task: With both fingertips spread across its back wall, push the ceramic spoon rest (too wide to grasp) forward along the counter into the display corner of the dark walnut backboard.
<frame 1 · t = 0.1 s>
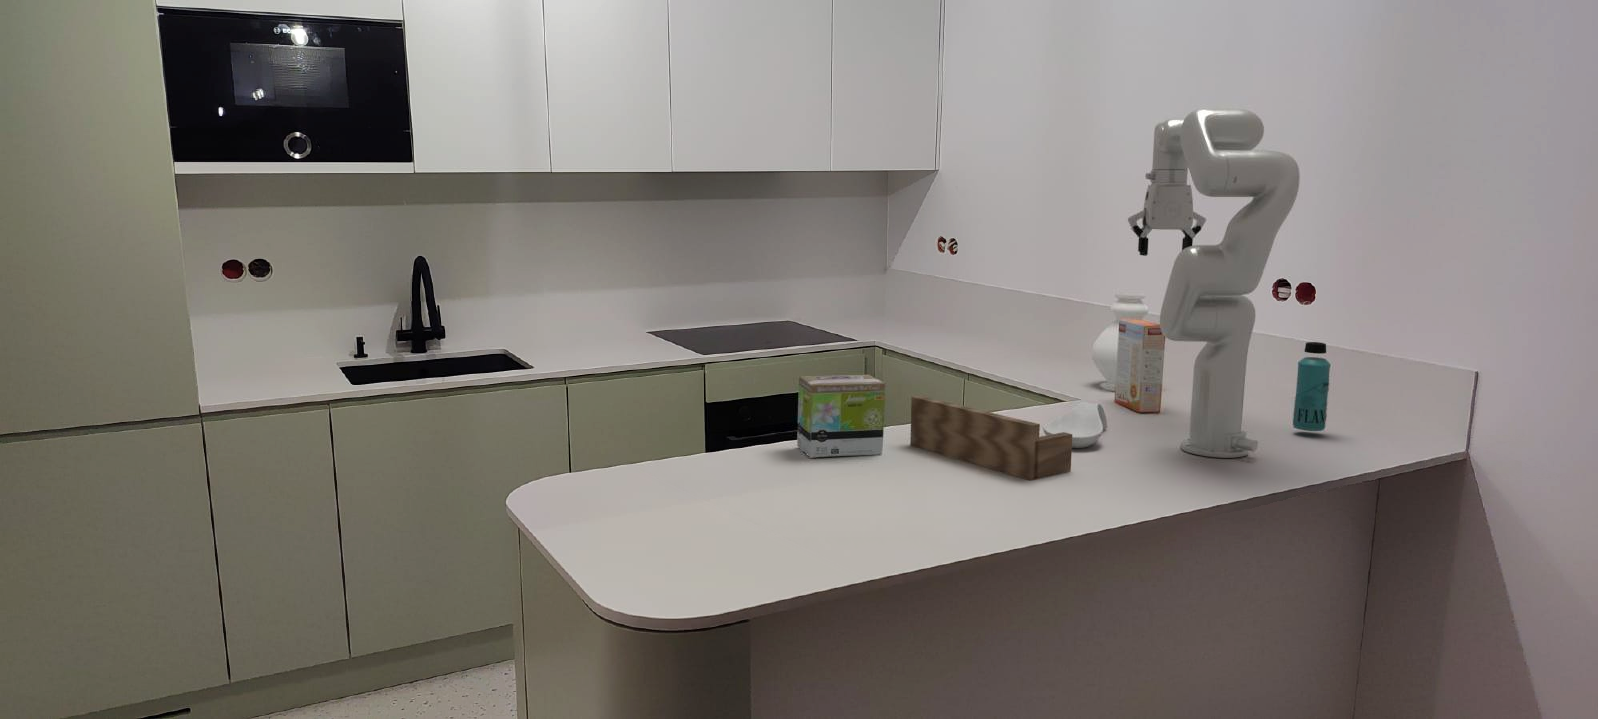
hand: (1164, 255, 233), 37 cm above the table, tool pointing down, fingers open, 9 cm apart
spoon rest: (1079, 441, 216), on the table
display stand: (969, 460, 198), on the table
tea box: (839, 452, 205), on the table
beverage bottle: (1308, 435, 221), on the table
decorative vase: (1124, 388, 275), on the table
cracker box: (1137, 408, 249), on the table
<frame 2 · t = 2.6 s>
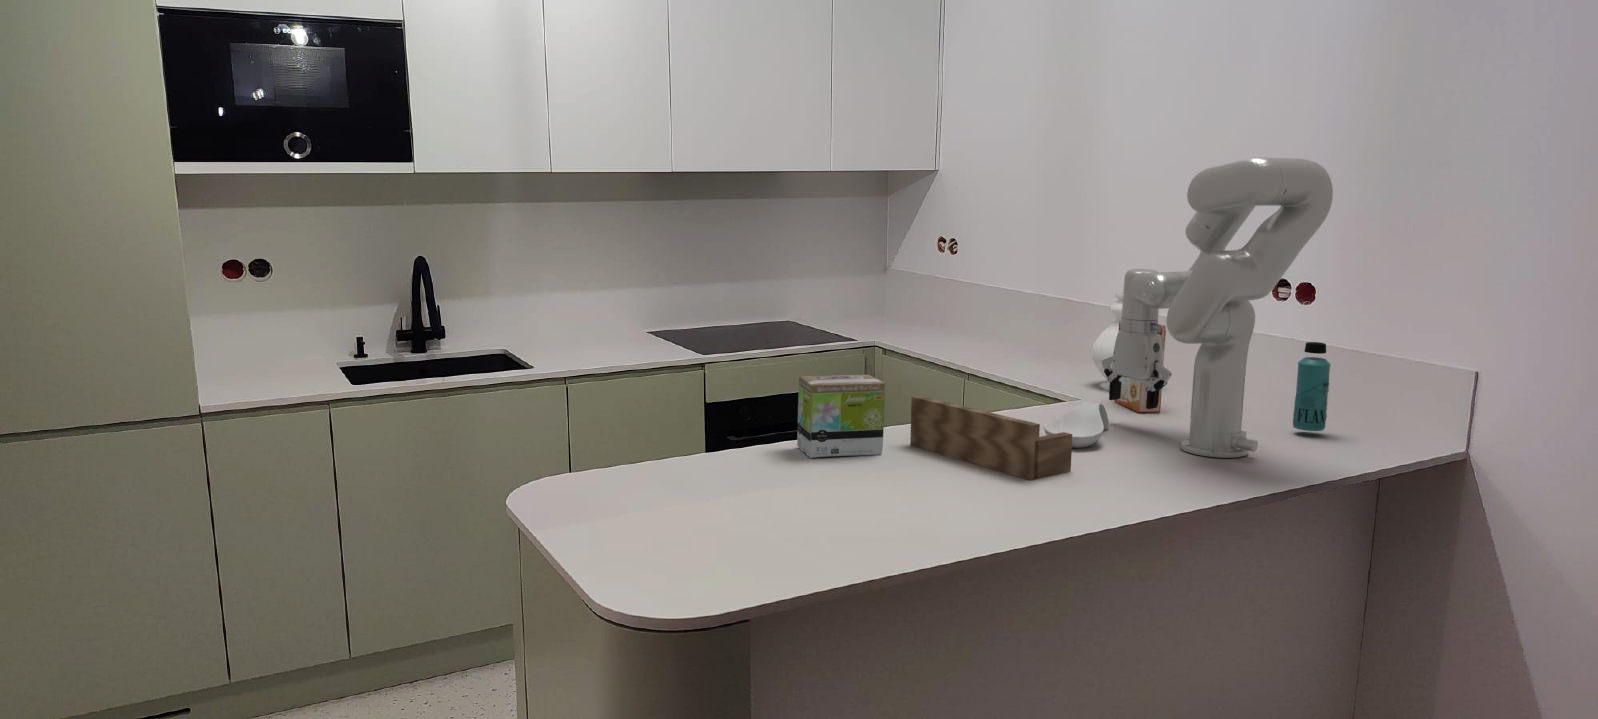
hand: (1132, 403, 226), 5 cm above the table, tool pointing down, fingers open, 9 cm apart
nothing on the table moved.
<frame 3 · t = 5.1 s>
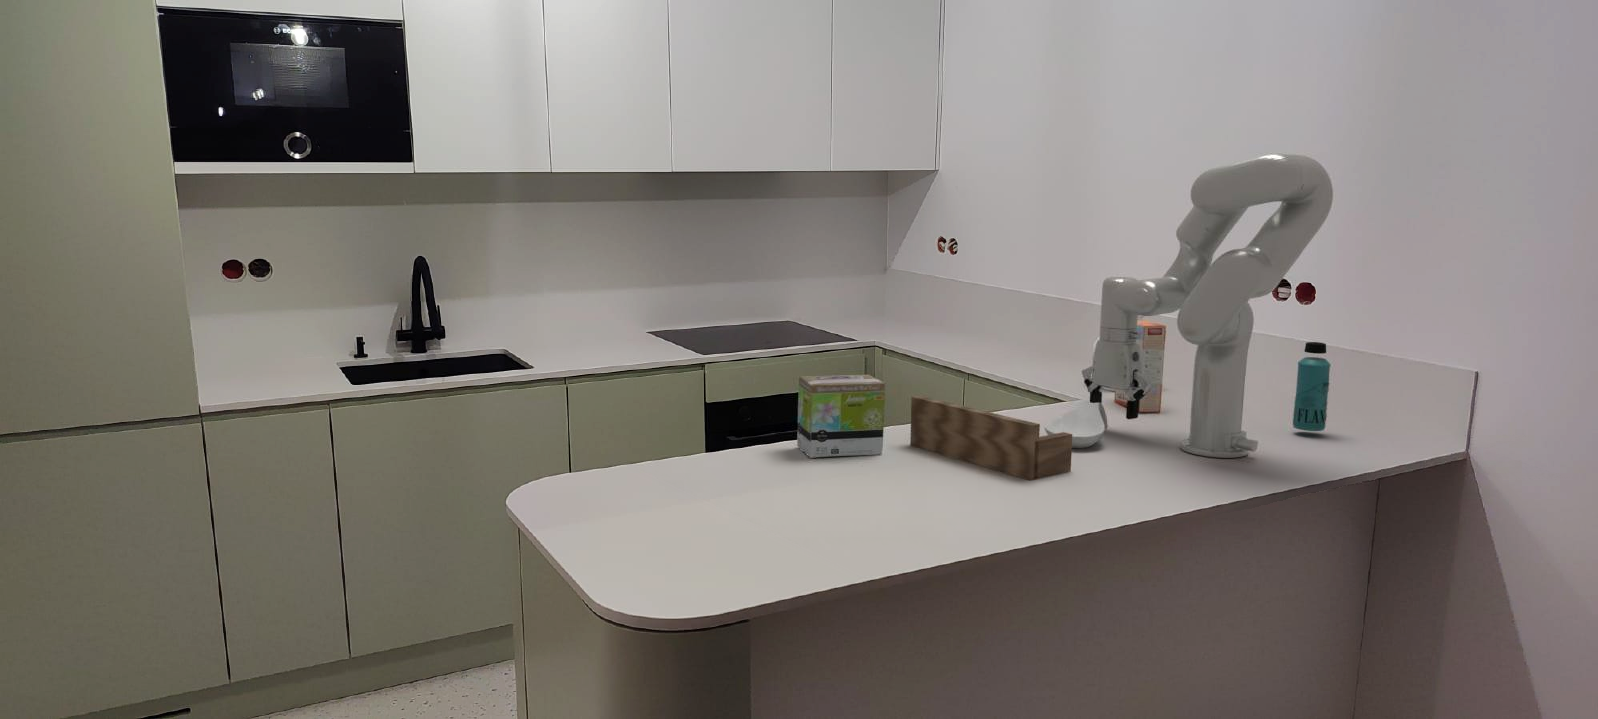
hand: (1113, 414, 222), 4 cm above the table, tool pointing down, fingers open, 9 cm apart
spoon rest: (1081, 440, 216), on the table, touching gripper
everything else where it was.
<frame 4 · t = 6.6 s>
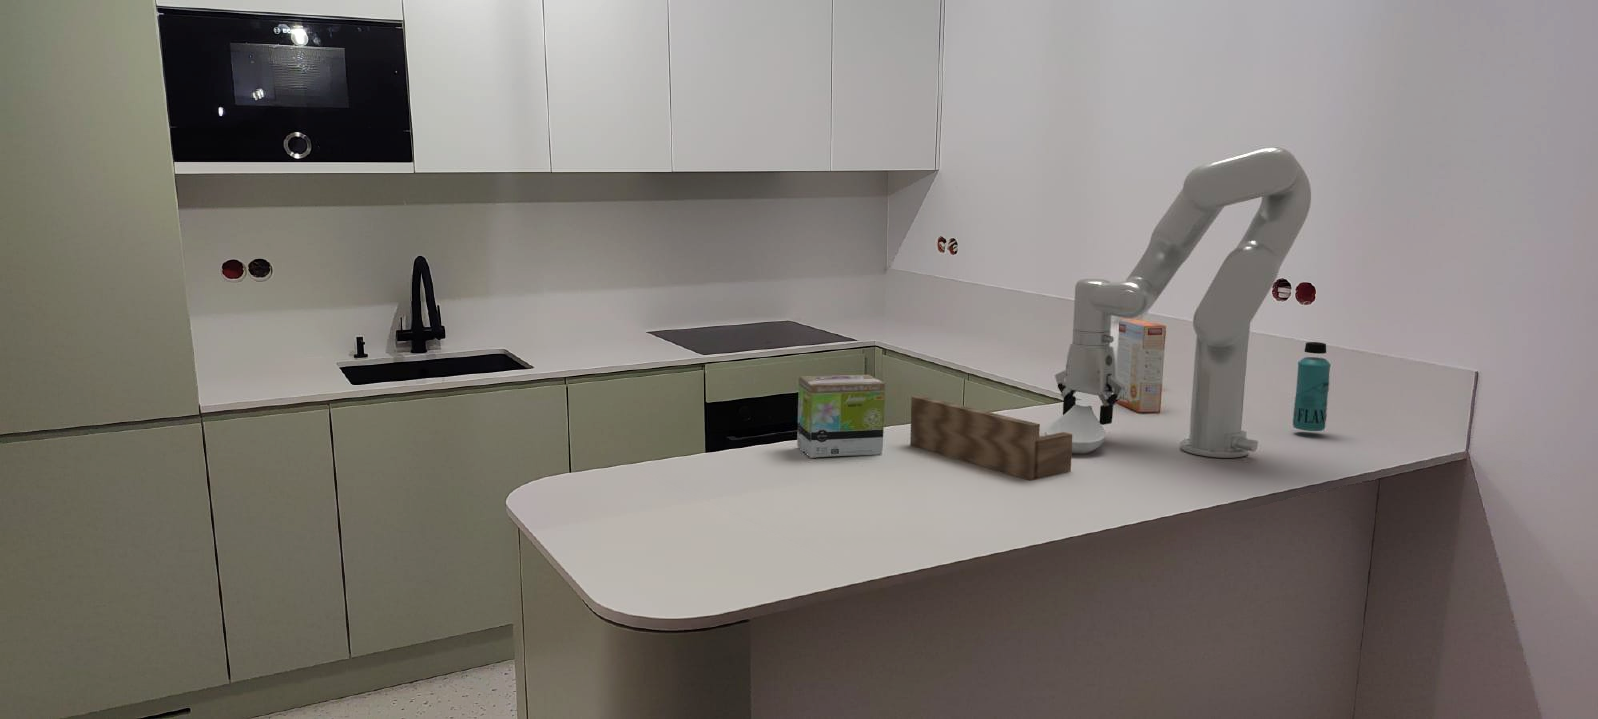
hand: (1086, 419, 217), 4 cm above the table, tool pointing down, fingers open, 9 cm apart
spoon rest: (1077, 445, 212), on the table, touching gripper
everything else where it was.
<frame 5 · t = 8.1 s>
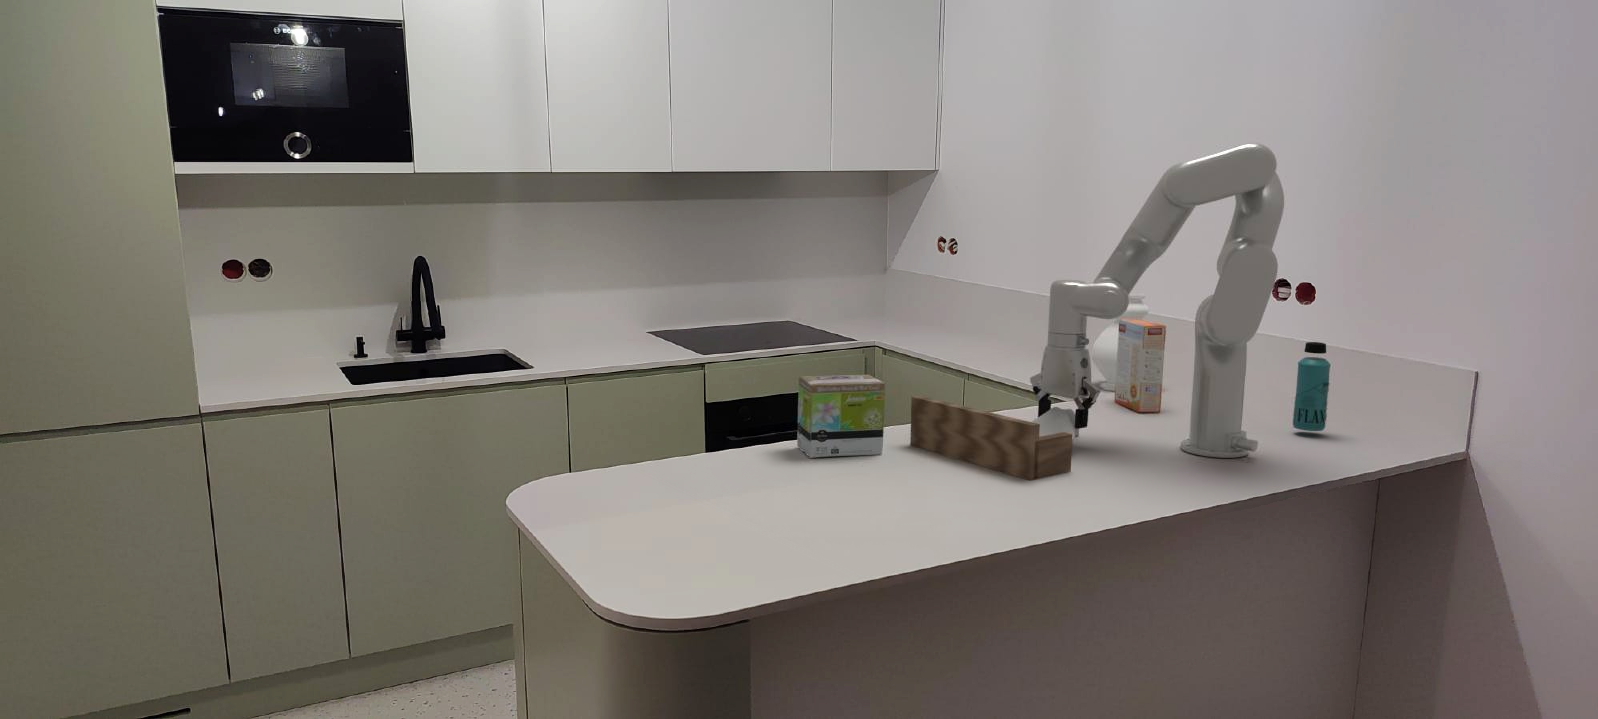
hand: (1062, 423, 213), 4 cm above the table, tool pointing down, fingers open, 9 cm apart
spoon rest: (1051, 448, 211), on the table, touching gripper
everything else where it was.
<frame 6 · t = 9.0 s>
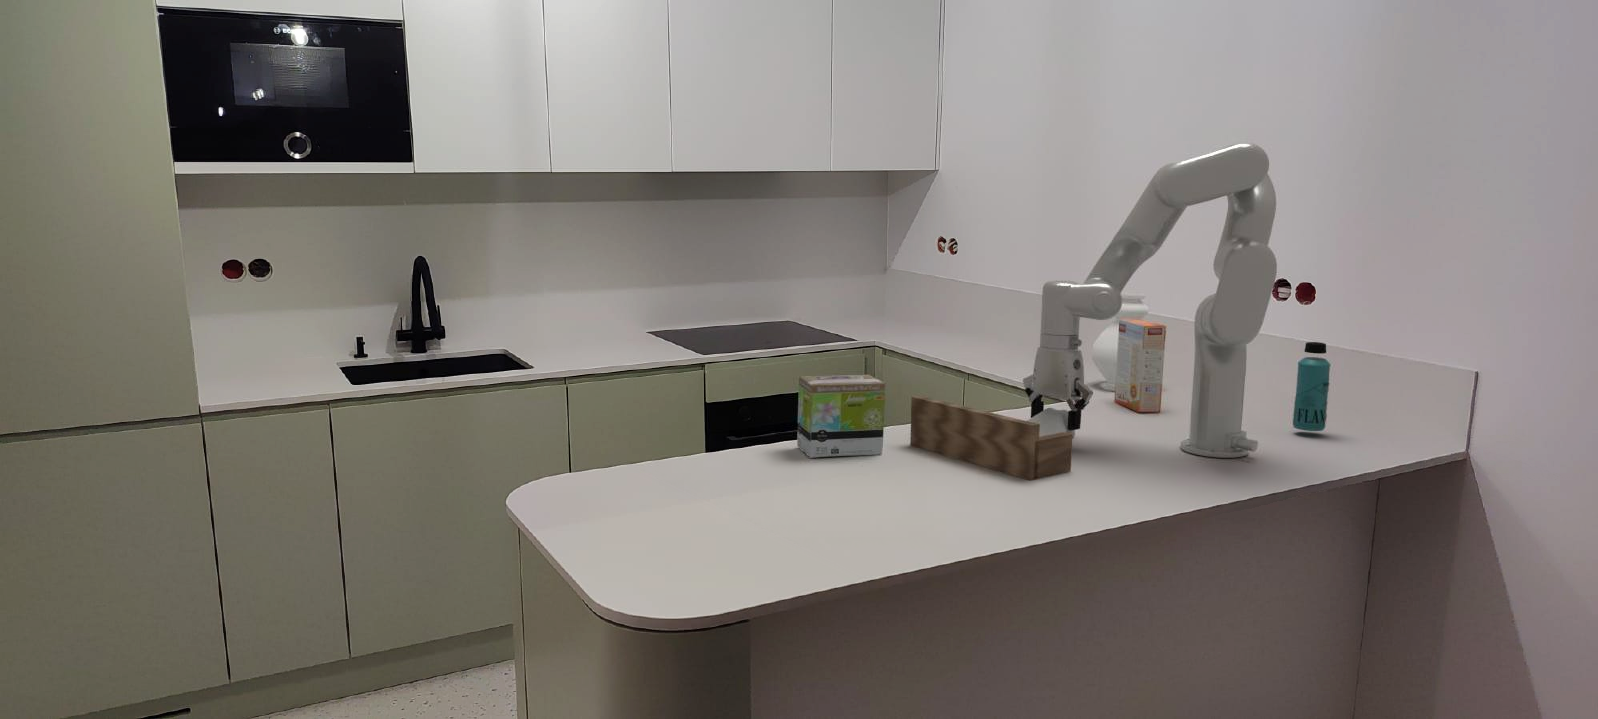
hand: (1054, 425, 211), 4 cm above the table, tool pointing down, fingers open, 9 cm apart
spoon rest: (1044, 448, 210), on the table, touching gripper
everything else where it was.
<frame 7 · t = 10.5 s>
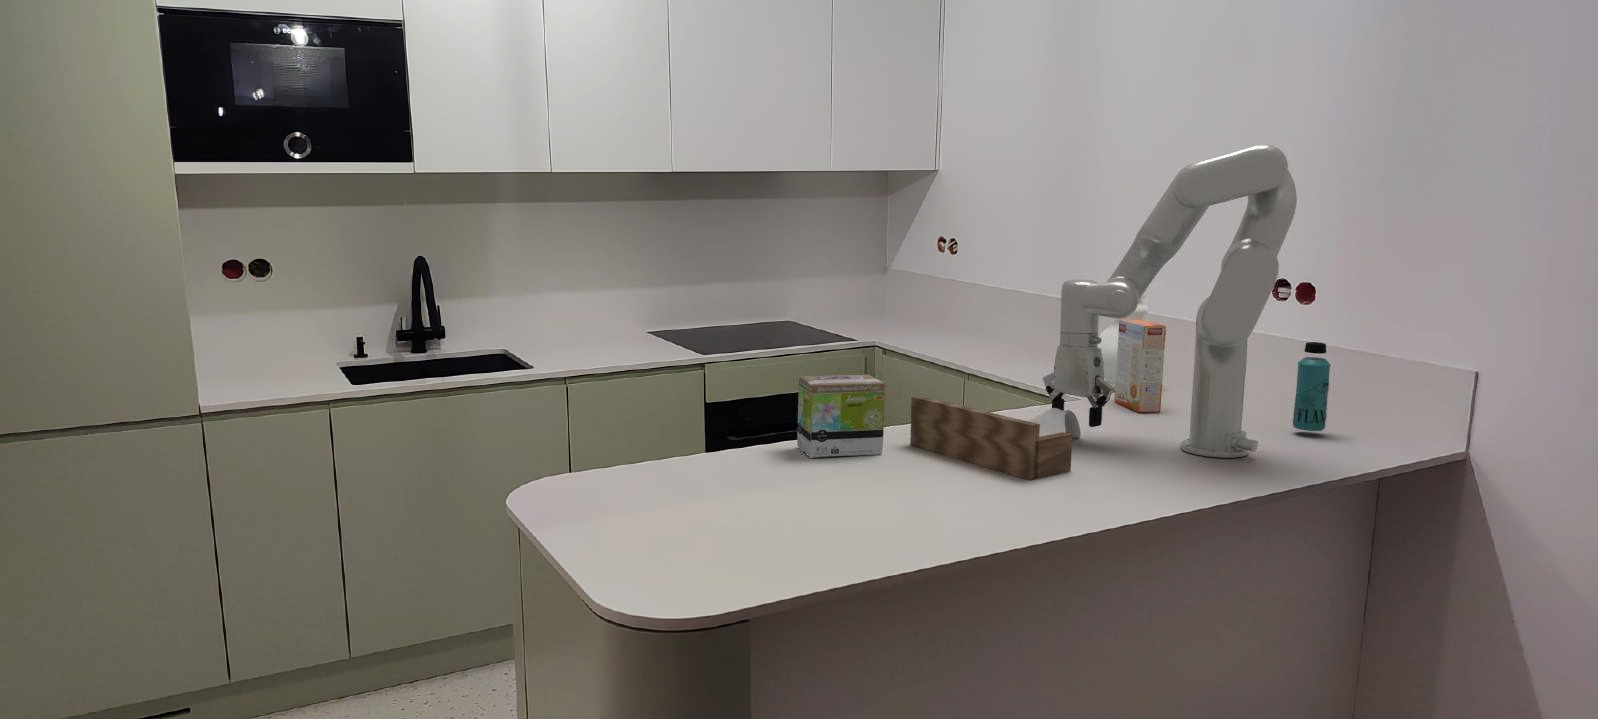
hand: (1076, 422, 214), 4 cm above the table, tool pointing down, fingers open, 9 cm apart
spoon rest: (1045, 448, 210), on the table
everything else where it was.
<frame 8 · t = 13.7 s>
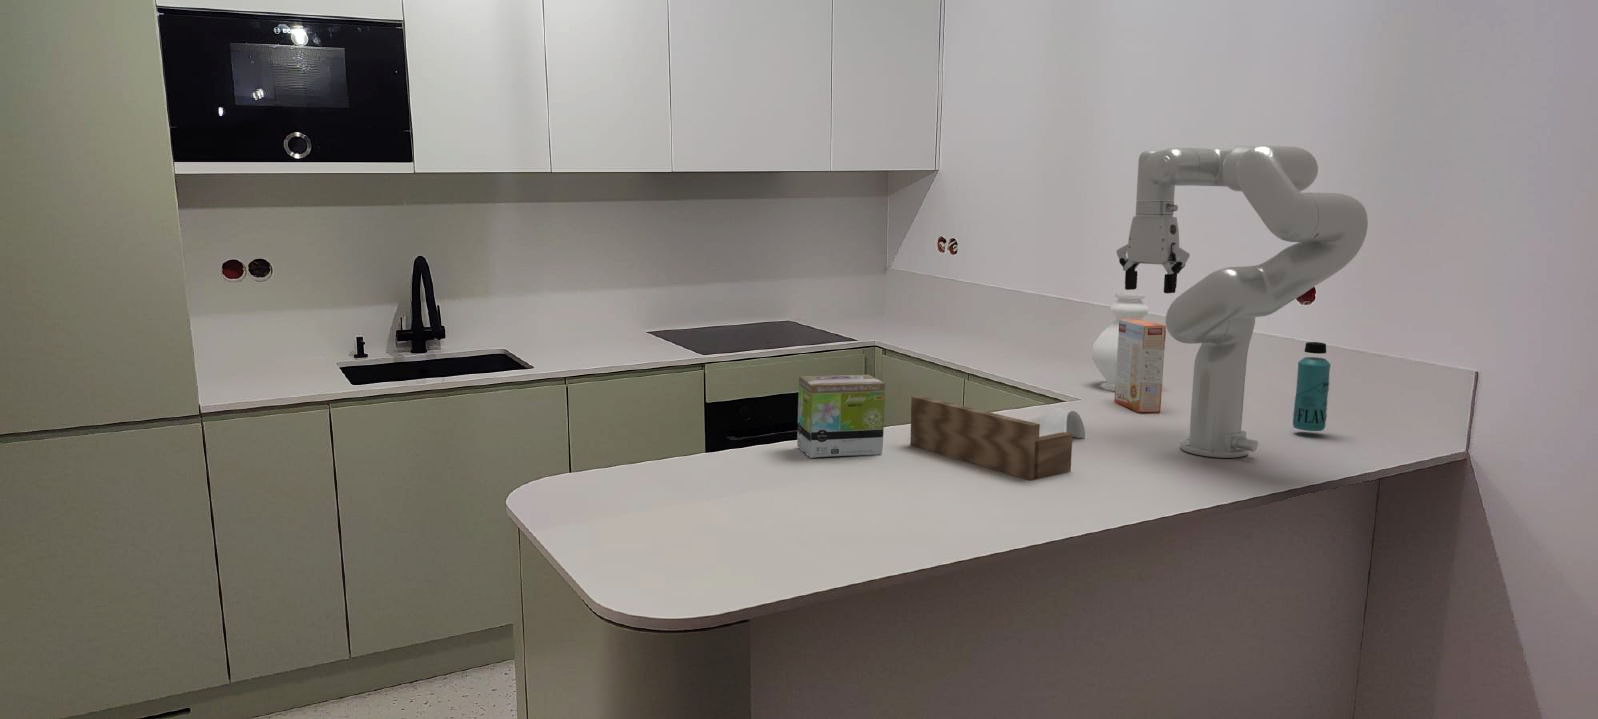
hand: (1149, 291, 220), 30 cm above the table, tool pointing down, fingers open, 9 cm apart
at the end: spoon rest inside the target area on the table beside the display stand (3.1 cm from its centre), on the table; spoon rest moved 10.4 cm from its start; spoon rest tilted 0° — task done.
